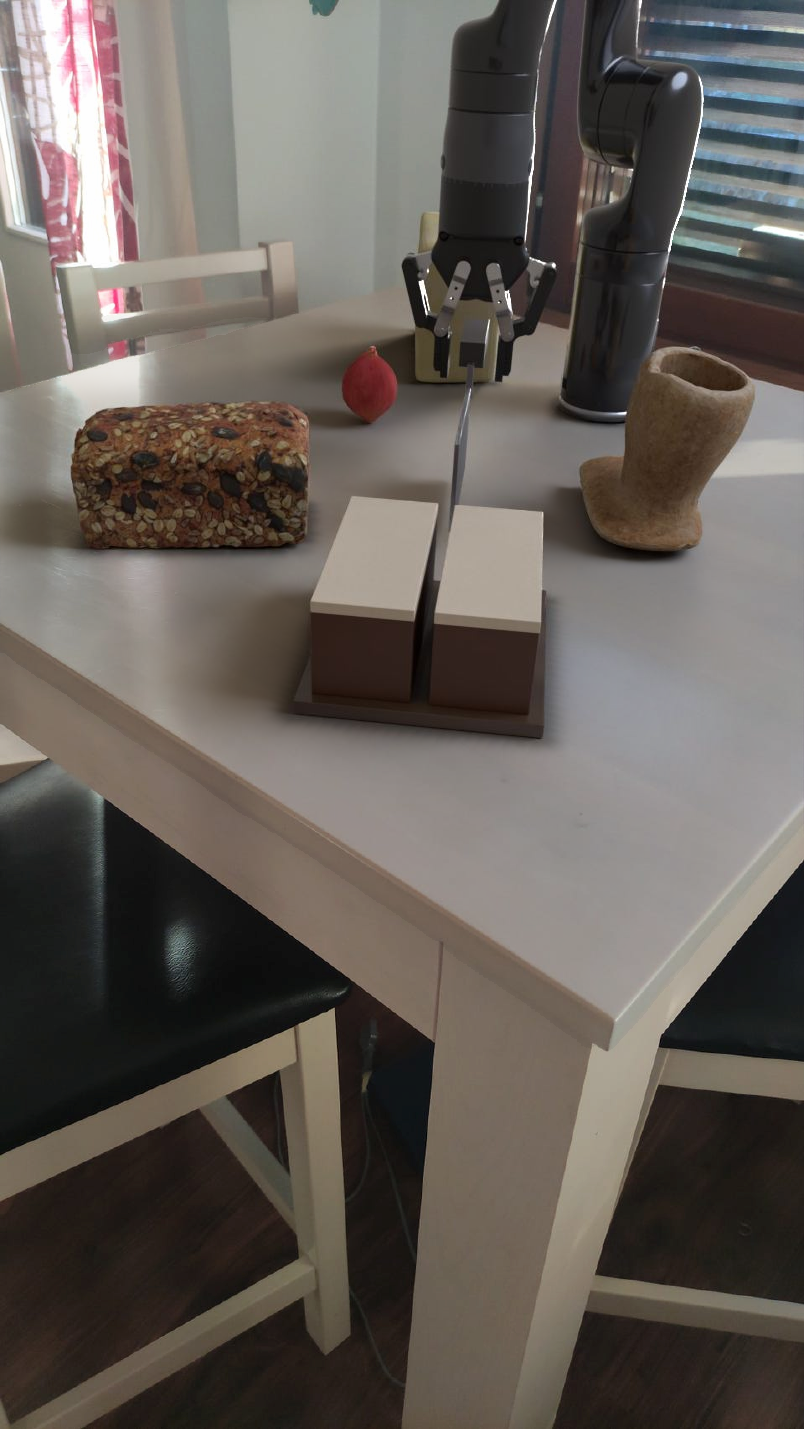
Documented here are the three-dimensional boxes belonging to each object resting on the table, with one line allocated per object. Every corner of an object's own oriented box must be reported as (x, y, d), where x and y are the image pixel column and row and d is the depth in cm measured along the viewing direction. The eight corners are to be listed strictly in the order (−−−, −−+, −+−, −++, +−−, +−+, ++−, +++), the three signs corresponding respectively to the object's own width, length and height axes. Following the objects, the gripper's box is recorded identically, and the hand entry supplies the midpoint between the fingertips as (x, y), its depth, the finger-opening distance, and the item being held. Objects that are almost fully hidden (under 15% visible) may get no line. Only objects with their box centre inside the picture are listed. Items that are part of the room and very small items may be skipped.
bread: (311, 500, 95) (309, 390, 89) (310, 554, 86) (308, 435, 80) (100, 498, 93) (84, 386, 88) (77, 553, 85) (59, 432, 79)
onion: (332, 426, 110) (332, 349, 106) (355, 409, 115) (355, 334, 110) (383, 435, 109) (385, 357, 104) (404, 418, 113) (407, 342, 109)
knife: (458, 433, 106) (466, 318, 100) (480, 435, 106) (489, 319, 99) (437, 531, 87) (446, 396, 81) (464, 533, 87) (474, 398, 81)
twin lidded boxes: (339, 582, 82) (340, 489, 78) (544, 601, 81) (557, 507, 77) (293, 713, 68) (290, 607, 63) (542, 738, 66) (557, 632, 62)
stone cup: (731, 567, 87) (776, 387, 78) (587, 558, 87) (615, 377, 79) (701, 494, 99) (736, 331, 91) (575, 486, 100) (598, 322, 91)
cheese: (388, 331, 140) (392, 208, 132) (460, 331, 142) (468, 209, 133) (413, 384, 123) (420, 246, 114) (495, 383, 124) (507, 247, 115)
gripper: (572, 170, 90) (548, 371, 100) (406, 160, 91) (399, 360, 101) (573, 184, 84) (548, 397, 94) (395, 173, 85) (389, 384, 95)
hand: (471, 376), depth 97 cm, fingers open, 4 cm apart
